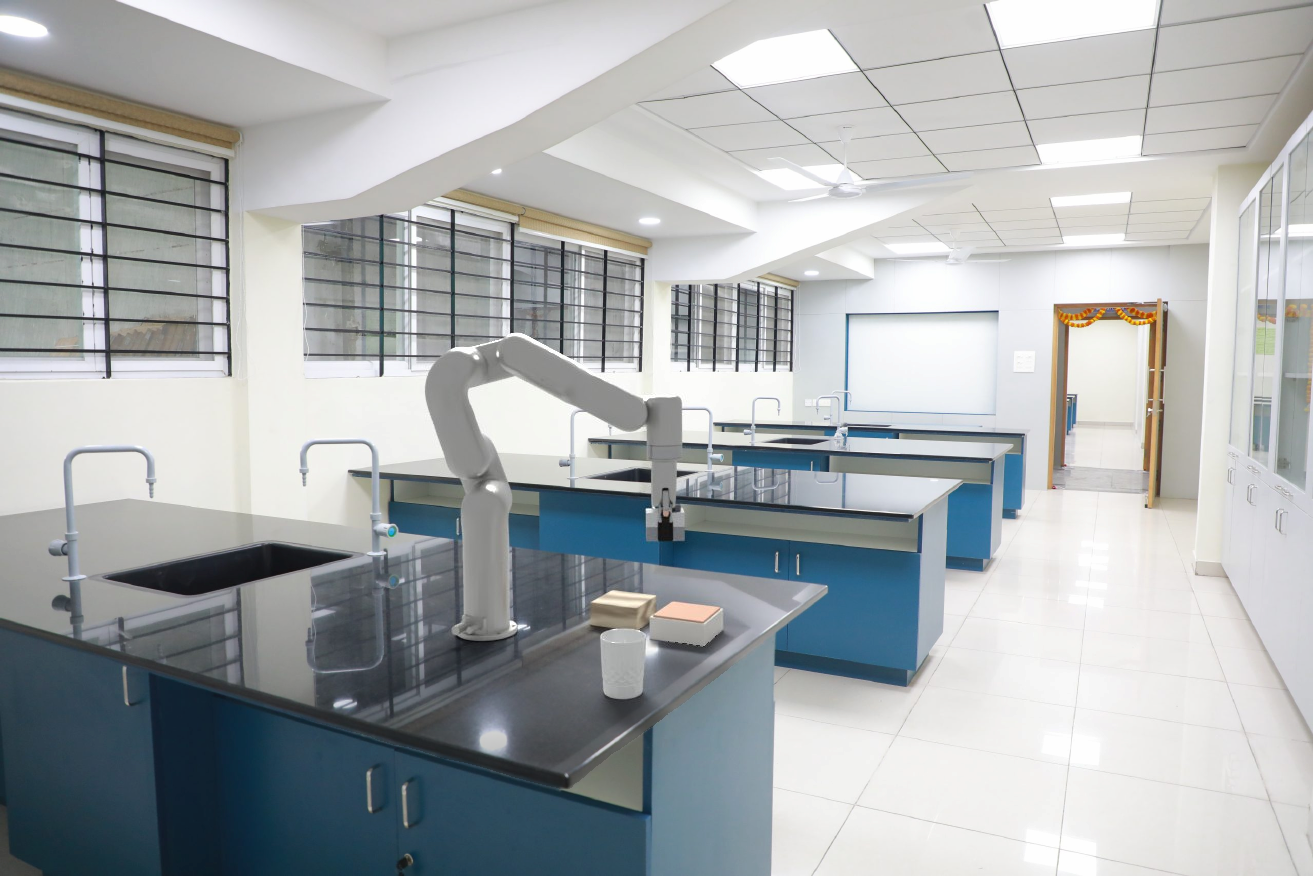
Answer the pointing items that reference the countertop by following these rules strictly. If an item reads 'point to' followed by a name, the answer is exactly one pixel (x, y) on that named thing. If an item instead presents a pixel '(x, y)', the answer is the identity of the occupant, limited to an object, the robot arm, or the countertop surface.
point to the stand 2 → (686, 623)
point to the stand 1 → (623, 610)
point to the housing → (677, 520)
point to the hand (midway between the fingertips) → (665, 537)
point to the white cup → (623, 662)
